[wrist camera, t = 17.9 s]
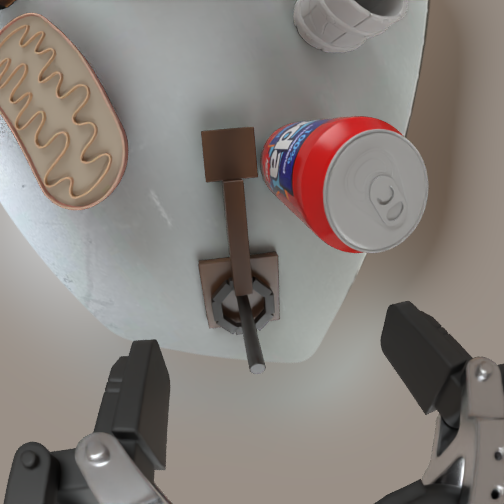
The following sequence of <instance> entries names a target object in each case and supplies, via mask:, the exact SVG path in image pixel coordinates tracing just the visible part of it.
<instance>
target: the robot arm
mask: <svg viewBox="0 0 504 504" xmlns="http://www.w3.org/2000/svg"><path fill="white" fill-rule="evenodd" d="M381 348H382V351H383V353H384V355H385V356H386V357H387V359H388V360H389V362H390V363H391V365H392V366H393V367H394V369H395V370H396V372H397V373H398V375H399V376H400V378H401V379H402V380H403V382H404V383H405V385H406V386H407V388H408V389H409V391H410V392H411V394H412V395H413V397H414V398H415V399H416V401H417V402H418V404H419V406H420V407H421V409H422V410H423V412H424V413H425V415H427V414H429V413H431V412H433V411H435V410H438V412H439V415H438V417H437V420H436V428H435V435H434V442H433V449H432V455H431V460H430V463H429V466H428V468H427V470H426V471H425V473H424V475H423V477H422V480H421V479H420V480H418V481H416V482H414V483H412V484H410V485H407V486H405V487H403V488H401V489H399V490H397V491H394V492H392V493H390V494H388V495H386V496H385V497H383V498H382V499H380V500H379V501H378V502H376V503H375V504H504V364H500V365H497V364H496V363H495V362H493V361H492V360H490V359H488V358H485V357H475V358H472V357H471V356H470V355H469V354H468V353H467V352H466V351H465V349H464V348H462V346H461V345H460V344H459V343H458V342H457V341H456V340H455V339H454V338H453V337H452V336H451V335H450V334H448V332H447V331H446V330H445V329H444V328H443V327H441V325H440V324H439V323H438V322H437V321H436V320H435V319H434V318H433V317H432V316H430V315H428V314H426V313H424V312H422V311H420V310H418V309H417V308H416V307H415V306H414V305H413V304H412V303H411V302H410V301H405V302H401V303H397V304H392V305H390V306H389V307H388V310H387V313H386V318H385V322H384V327H383V331H382V335H381ZM169 397H170V379H169V374H168V370H167V368H166V365H165V362H164V359H163V356H162V353H161V351H160V347H159V344H158V342H157V340H155V339H154V340H138V341H133V343H132V346H131V349H130V353H129V356H123V357H120V358H119V360H117V362H116V363H115V364H114V365H113V367H112V368H111V371H110V375H109V378H108V382H107V385H106V388H105V393H104V395H103V398H102V402H101V406H100V409H99V413H98V417H97V421H96V425H95V429H94V432H93V433H92V434H89V435H87V436H85V437H84V438H83V439H82V440H81V441H80V442H79V443H78V445H77V447H76V448H74V449H68V450H61V451H54V452H49V451H48V450H47V449H46V448H45V447H44V446H43V445H41V444H40V443H37V442H29V443H25V444H23V445H22V446H21V447H20V448H19V449H18V450H17V451H16V453H15V456H14V459H13V463H12V467H11V471H10V475H9V479H8V484H7V489H6V494H5V499H4V504H173V503H172V502H171V501H170V500H169V499H168V497H167V496H166V495H165V494H164V493H163V492H162V491H161V489H160V488H159V487H158V486H157V485H156V483H154V470H165V467H166V443H167V425H168V410H169Z"/></svg>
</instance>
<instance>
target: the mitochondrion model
mask: <svg viewBox="0 0 504 504" xmlns="http://www.w3.org/2000/svg"><path fill="white" fill-rule="evenodd" d="M0 114H1V115H2V117H3V118H4V120H5V121H6V123H7V125H8V126H9V128H10V129H11V131H12V133H13V135H14V136H15V138H16V140H17V142H18V144H19V146H20V148H21V149H22V151H23V153H24V155H25V157H26V159H27V161H28V163H29V165H30V168H31V170H32V172H33V174H34V176H35V178H36V180H37V182H38V184H39V186H40V188H41V189H42V191H43V193H44V195H45V196H46V197H47V198H48V199H50V200H51V201H52V202H53V203H54V204H56V205H58V206H60V207H62V208H65V209H70V210H83V209H88V208H90V207H93V206H95V205H97V204H98V203H100V202H101V201H103V200H104V199H106V198H107V197H108V196H109V195H110V194H111V193H112V192H113V191H114V189H115V188H116V187H117V185H118V184H119V182H120V181H121V179H122V177H123V175H124V172H125V169H126V165H127V160H128V141H127V137H126V134H125V130H124V128H123V126H122V124H121V122H120V120H119V118H118V116H117V114H116V112H115V110H114V108H113V106H112V104H111V102H110V100H109V98H108V96H107V94H106V92H105V90H104V88H103V86H102V85H101V83H100V81H99V79H98V77H97V76H96V74H95V72H94V71H93V69H92V68H91V66H90V65H89V63H88V62H87V60H86V59H85V58H84V56H83V55H82V54H81V53H80V51H79V50H78V49H77V48H76V46H75V45H74V44H73V43H72V42H71V41H70V40H69V39H68V38H67V37H66V36H65V34H64V33H63V32H62V31H60V30H59V29H58V28H57V27H56V26H55V25H53V24H52V23H51V22H50V21H49V20H48V19H46V18H45V17H44V16H42V15H40V14H37V13H26V14H23V15H20V16H18V17H17V18H15V19H13V20H12V21H10V22H9V23H8V24H7V25H6V26H5V27H4V28H3V29H2V30H0Z"/></svg>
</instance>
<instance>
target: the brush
mask: <svg viewBox="0 0 504 504" xmlns="http://www.w3.org/2000/svg"><path fill="white" fill-rule="evenodd" d="M201 136H202V147H203V158H204V168H205V178H206V182H215V181H222V187H223V197H224V207H225V217H226V227H227V236H228V245H229V254H230V263H231V272H232V277H231V278H229V281H228V280H225V281H224V282H223V283H222V284H221V285H220V287H219V288H218V289H217V290H216V291H215V293H214V294H213V295H212V298H211V304H212V310H213V316H214V321H216V324H217V325H219V326H221V327H222V328H224V329H225V330H227V331H229V332H230V333H232V334H234V333H235V332H236V335H239V334H243V331H242V326H241V322H238V323H236V322H235V321H233V320H232V319H230V318H228V317H227V316H225V315H224V314H223V309H222V302H223V301H224V300H225V298H226V297H227V296H228V295H229V294H230V293H231V292H232V290H234V291H235V296H242V295H250V294H253V290H255V291H256V292H257V293H259V294H260V295H262V296H263V300H264V309H263V310H262V311H261V313H260V314H259V315H258V316H257V317H256V318H255V319H254V323H255V327H256V331H257V329H258V330H259V331H260V330H261V329H262V328H263V327H264V326H265V325H266V324H267V323H268V322H269V321H270V320H271V319H272V318H273V317H274V315H273V314H274V313H275V305H274V294H273V292H272V290H271V288H270V287H269V286H268V285H266V284H265V283H263V282H262V281H261V280H259V279H258V278H257V277H255V276H254V277H253V278H252V275H251V263H250V252H249V241H248V229H247V218H246V206H245V194H244V183H243V180H242V179H244V178H256V177H258V173H257V160H256V148H255V136H254V127H242V128H230V129H219V130H209V131H202V132H201Z"/></svg>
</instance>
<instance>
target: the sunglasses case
mask: <svg viewBox="0 0 504 504" xmlns="http://www.w3.org/2000/svg"><path fill="white" fill-rule="evenodd" d="M15 1H16V0H0V9H5V8H7V7H9V6H10V5H11V4H12V3H13V2H15Z"/></svg>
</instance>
